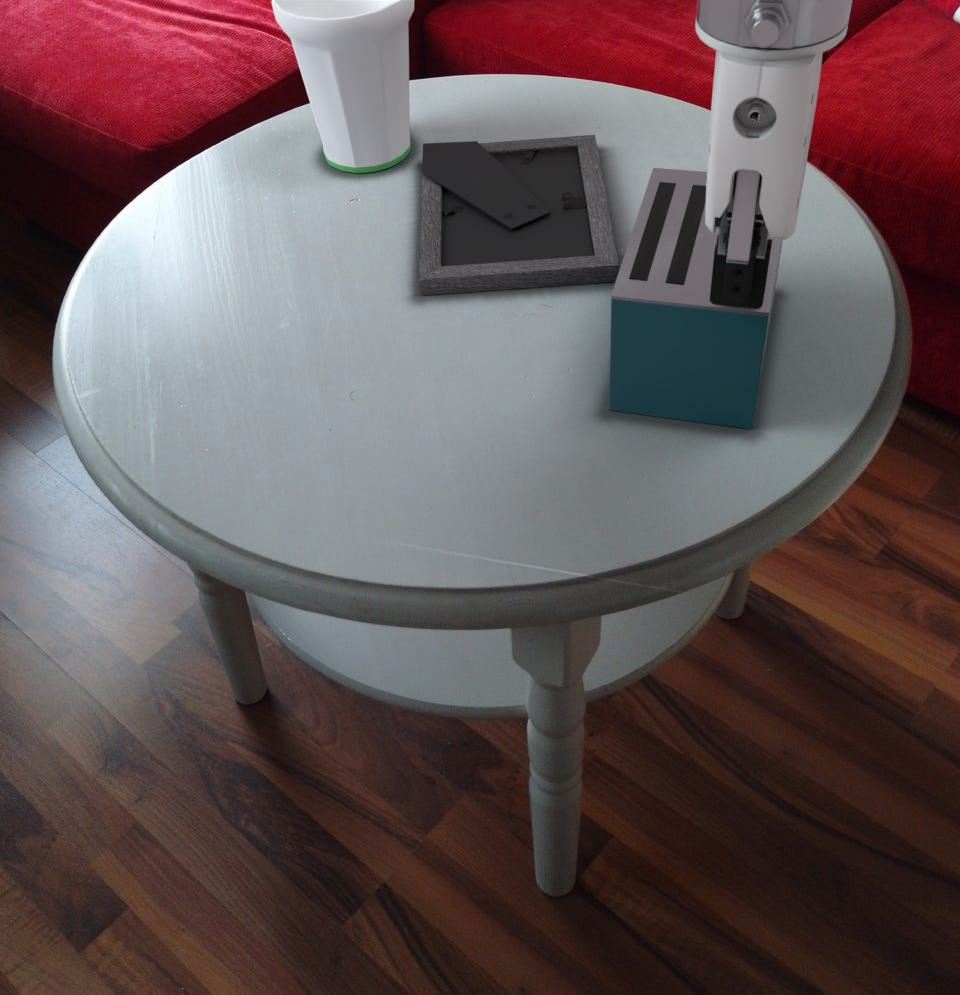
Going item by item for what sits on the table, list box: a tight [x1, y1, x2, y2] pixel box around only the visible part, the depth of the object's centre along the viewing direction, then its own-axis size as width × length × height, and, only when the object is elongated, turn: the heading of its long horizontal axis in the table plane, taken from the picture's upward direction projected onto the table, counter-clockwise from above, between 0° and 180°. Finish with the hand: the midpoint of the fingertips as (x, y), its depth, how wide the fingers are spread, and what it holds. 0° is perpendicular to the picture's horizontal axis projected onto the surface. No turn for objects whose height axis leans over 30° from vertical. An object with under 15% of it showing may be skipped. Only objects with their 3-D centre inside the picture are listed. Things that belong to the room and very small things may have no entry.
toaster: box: [608, 167, 784, 430], centre depth 78 cm, size 10×16×10 cm, turn 164°
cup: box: [271, 0, 415, 174], centre depth 100 cm, size 12×12×15 cm
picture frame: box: [418, 134, 620, 296], centre depth 95 cm, size 16×2×21 cm
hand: (736, 298), depth 68 cm, fingers closed
